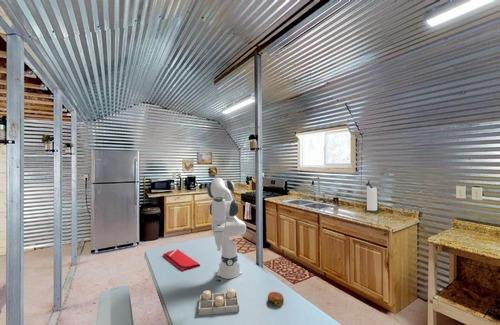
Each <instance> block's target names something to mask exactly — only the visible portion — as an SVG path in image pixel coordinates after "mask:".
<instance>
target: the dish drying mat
mask: <svg viewBox="0 0 500 325" xmlns="http://www.w3.org/2000/svg"><path fill="white" fill-rule="evenodd" d="M162 256H163V257H164V259H165V260H167V261H168V262H169V263H171V264H172V265H173V266H174V267H175V268H177V269H178V270H180V271H181V272H185V271H188V270H189V271H190V270H191V269H197V268H199V267H201V264H200V263H199V262H197V261H196V260H195V259H193V258H192V257H190V256H189V255H187V254H186V253H184V252H183V251H181V250H180V249H174V250H170V251H167V252H164V253H163V254H162Z"/></svg>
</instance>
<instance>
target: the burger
mask: <svg viewBox="0 0 500 325" xmlns="http://www.w3.org/2000/svg"><path fill="white" fill-rule="evenodd" d="M284 300H285V298H284V296H283V294H282V293H281V292H279V291H271V292H269V293H268V295H267V302H268V304H270V305H271V306H274V307H275V306H276V307H281V306H282V305H283V304H284Z"/></svg>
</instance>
